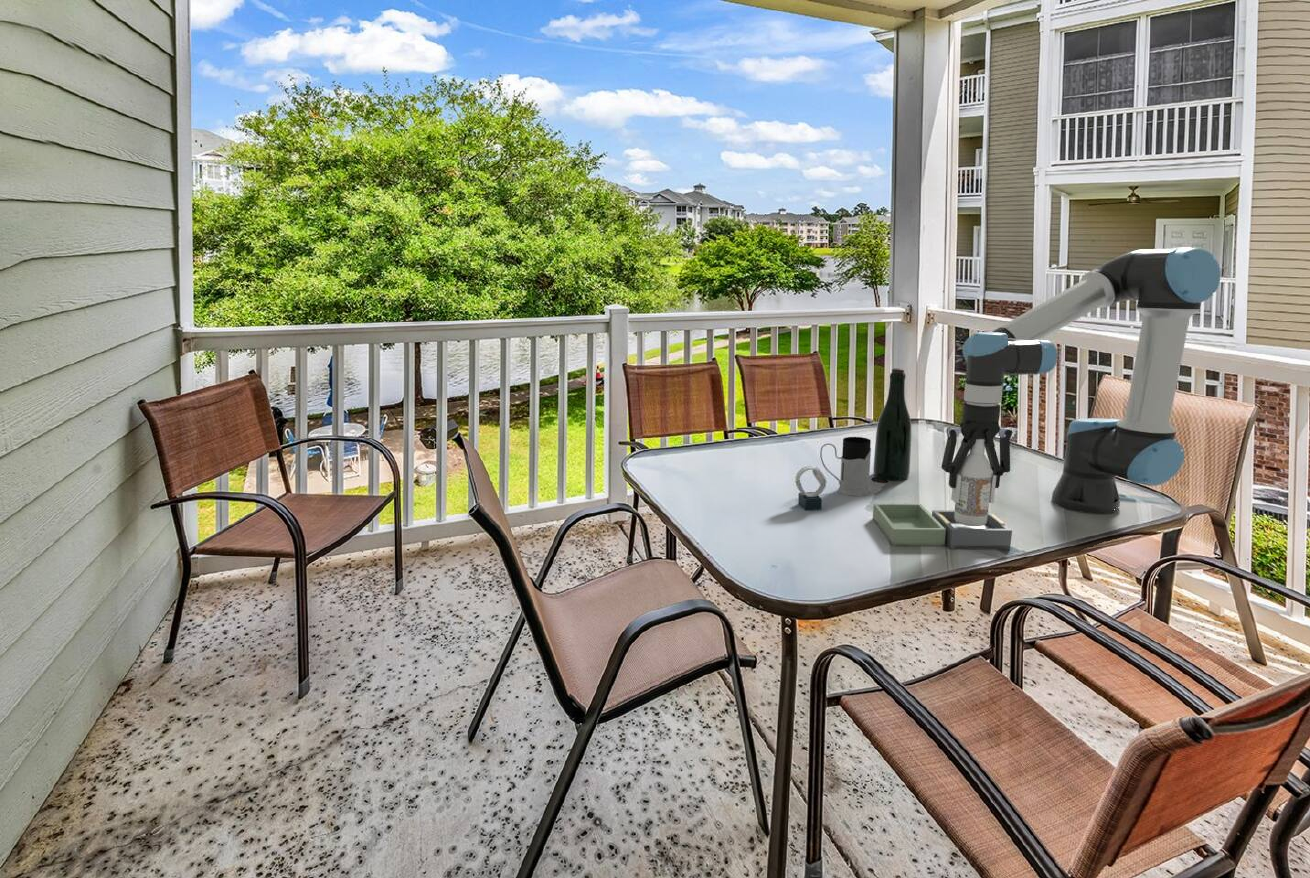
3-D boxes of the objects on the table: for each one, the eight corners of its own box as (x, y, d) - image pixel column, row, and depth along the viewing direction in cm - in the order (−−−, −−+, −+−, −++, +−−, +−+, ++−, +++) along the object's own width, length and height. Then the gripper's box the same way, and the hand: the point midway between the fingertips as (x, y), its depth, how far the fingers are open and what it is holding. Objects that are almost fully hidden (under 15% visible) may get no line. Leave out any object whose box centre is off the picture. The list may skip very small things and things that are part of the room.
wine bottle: (875, 480, 202) (882, 370, 195) (870, 471, 212) (876, 366, 205) (912, 481, 201) (920, 371, 193) (905, 472, 211) (913, 366, 203)
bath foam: (975, 529, 152) (984, 443, 148) (947, 520, 158) (955, 437, 153) (993, 523, 156) (1001, 438, 151) (965, 514, 162) (972, 432, 157)
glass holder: (872, 496, 189) (875, 444, 185) (819, 494, 191) (821, 442, 188) (868, 486, 197) (871, 436, 193) (817, 485, 199) (819, 435, 196)
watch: (828, 509, 179) (830, 469, 176) (799, 511, 178) (800, 470, 175) (820, 502, 184) (821, 463, 182) (791, 504, 183) (793, 465, 181)
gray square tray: (985, 528, 164) (987, 509, 163) (1010, 549, 151) (1012, 529, 150) (930, 528, 165) (932, 509, 163) (950, 549, 152) (952, 528, 151)
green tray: (919, 518, 171) (920, 503, 170) (944, 546, 154) (945, 529, 153) (872, 518, 171) (873, 503, 170) (892, 545, 154) (893, 529, 153)
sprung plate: (982, 524, 162) (982, 521, 162) (1000, 540, 152) (1001, 536, 152) (939, 524, 163) (940, 520, 162) (955, 539, 153) (955, 536, 153)
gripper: (1020, 399, 153) (1009, 496, 159) (930, 400, 155) (922, 495, 160) (1036, 405, 146) (1024, 506, 151) (942, 406, 147) (933, 506, 153)
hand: (972, 501), depth 156 cm, fingers closed on bath foam, 7 cm apart
